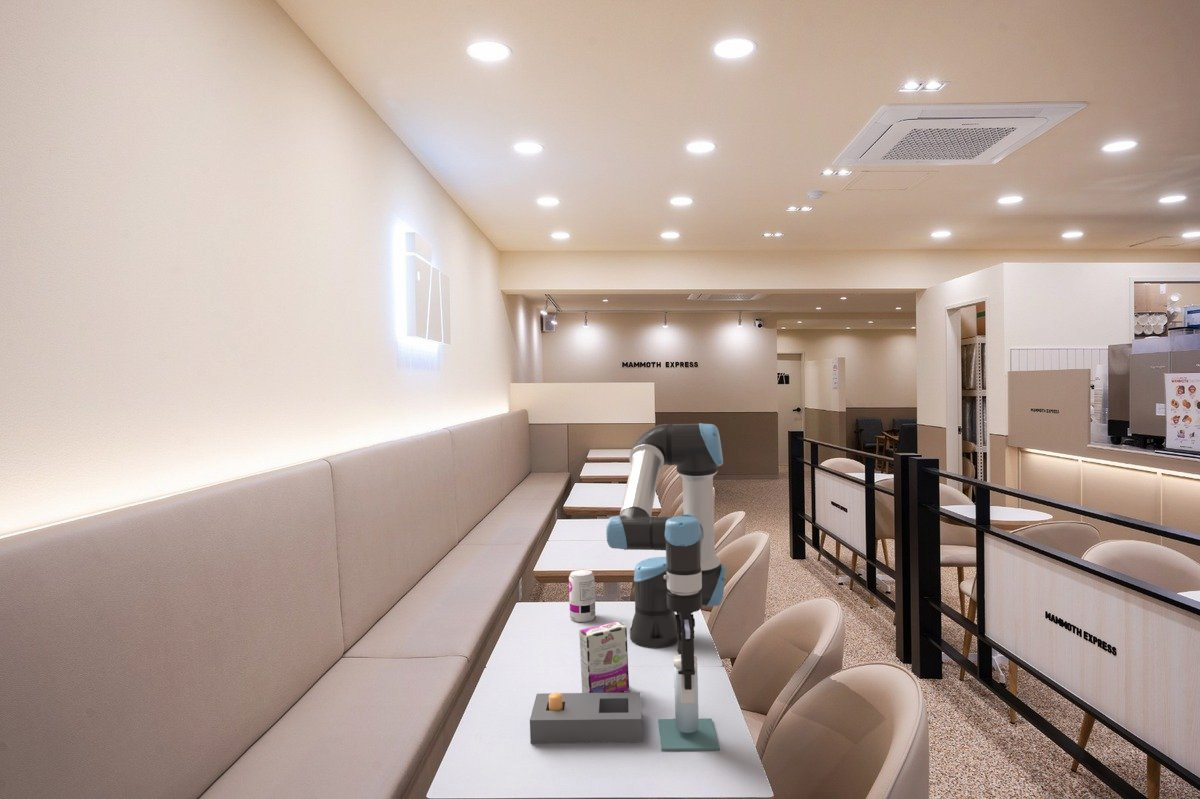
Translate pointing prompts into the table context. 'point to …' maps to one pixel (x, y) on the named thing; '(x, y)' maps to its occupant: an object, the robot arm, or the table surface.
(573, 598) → the supplement can
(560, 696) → the plunger
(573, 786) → the table surface
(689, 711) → the cylinder
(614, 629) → the candy bar box
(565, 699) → the housing
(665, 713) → the table surface
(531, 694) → the table surface
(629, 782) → the table surface
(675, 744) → the mat
